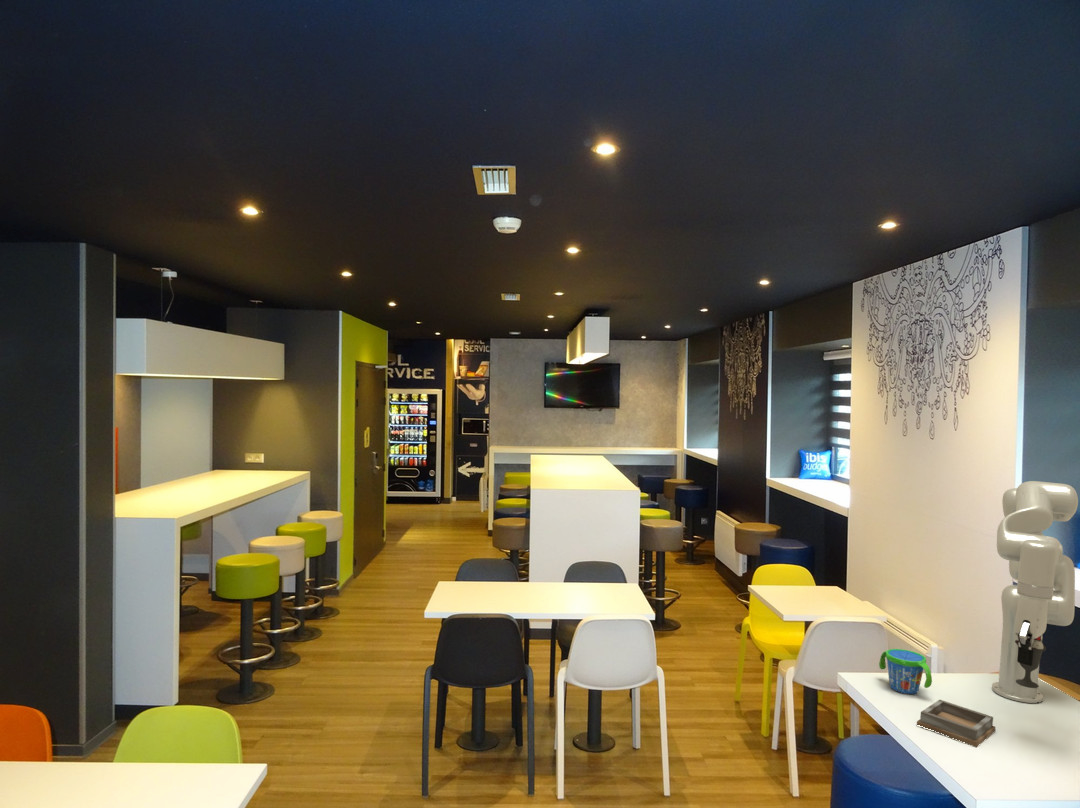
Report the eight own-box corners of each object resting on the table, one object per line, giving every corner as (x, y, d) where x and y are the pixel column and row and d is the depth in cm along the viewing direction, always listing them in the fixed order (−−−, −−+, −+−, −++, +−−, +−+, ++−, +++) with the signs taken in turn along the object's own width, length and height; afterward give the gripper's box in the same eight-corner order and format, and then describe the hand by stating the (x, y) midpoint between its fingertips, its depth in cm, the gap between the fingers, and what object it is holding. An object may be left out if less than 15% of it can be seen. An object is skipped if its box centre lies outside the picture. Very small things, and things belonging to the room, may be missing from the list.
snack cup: (868, 680, 225) (871, 646, 225) (896, 677, 229) (898, 644, 228) (911, 702, 210) (914, 666, 210) (940, 699, 214) (942, 663, 214)
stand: (937, 711, 205) (938, 698, 205) (995, 731, 195) (996, 717, 195) (916, 725, 196) (917, 711, 196) (976, 747, 185) (977, 732, 185)
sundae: (1048, 691, 188) (1053, 631, 187) (1017, 687, 189) (1022, 628, 188) (1036, 680, 194) (1041, 622, 193) (1007, 677, 195) (1012, 619, 195)
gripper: (1028, 580, 199) (1022, 647, 200) (1006, 592, 187) (1001, 663, 188) (1061, 587, 193) (1056, 656, 194) (1042, 600, 181) (1036, 674, 182)
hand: (1029, 659), depth 191 cm, fingers closed on sundae, 6 cm apart
